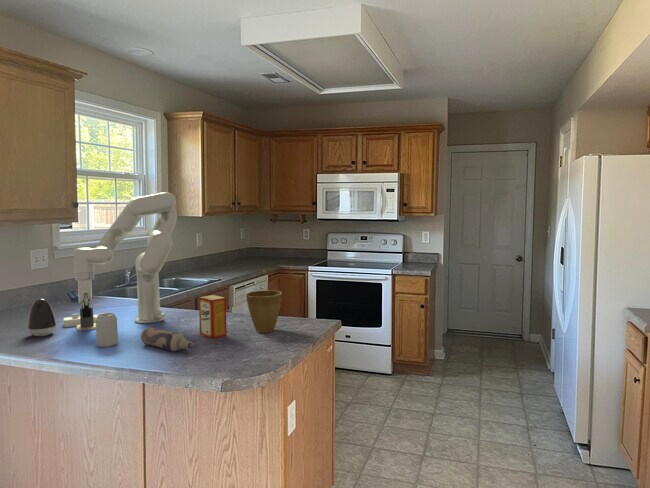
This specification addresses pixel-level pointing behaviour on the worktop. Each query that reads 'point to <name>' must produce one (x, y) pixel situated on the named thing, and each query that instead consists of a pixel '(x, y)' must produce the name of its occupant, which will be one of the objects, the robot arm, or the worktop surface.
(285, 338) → the worktop surface
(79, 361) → the worktop surface
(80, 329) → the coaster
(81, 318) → the charger
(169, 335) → the decorative bottle
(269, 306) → the plant pot
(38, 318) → the dark egg-shaped diffuser
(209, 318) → the baking soda box
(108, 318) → the can
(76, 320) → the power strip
